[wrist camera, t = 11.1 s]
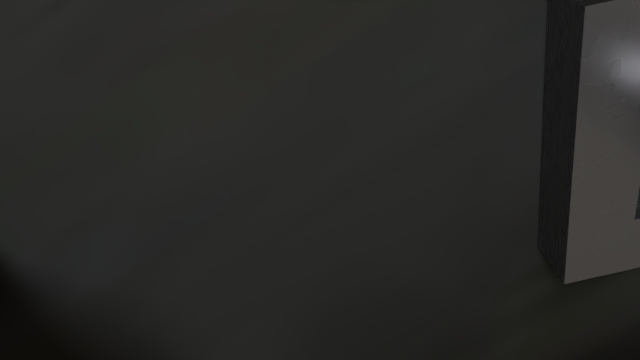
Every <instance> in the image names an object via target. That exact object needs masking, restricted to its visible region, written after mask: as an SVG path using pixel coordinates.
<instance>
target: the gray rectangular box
mask: <svg viewBox="0 0 640 360" xmlns="http://www.w3.org/2000/svg"><path fill="white" fill-rule="evenodd" d="M538 249H539V250H540V251H541V253H542V254H543V256H544V257H545V258H546V260H547V261H548V262H549V264H550V265H551V267H552V268H553V269H554V271H555V272H556V274H557V275H558V276H559V278H560V279H561V280H562V282H563V283H564V284H567V283H572V282H576V281H581V280H585V279H590V278H594V277H599V276H603V275H607V274H612V273H616V272H621V271H625V270H630V269H634V268H639V267H640V0H547V25H546V51H545V77H544V102H543V128H542V154H541V180H540V206H539V231H538Z"/></svg>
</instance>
